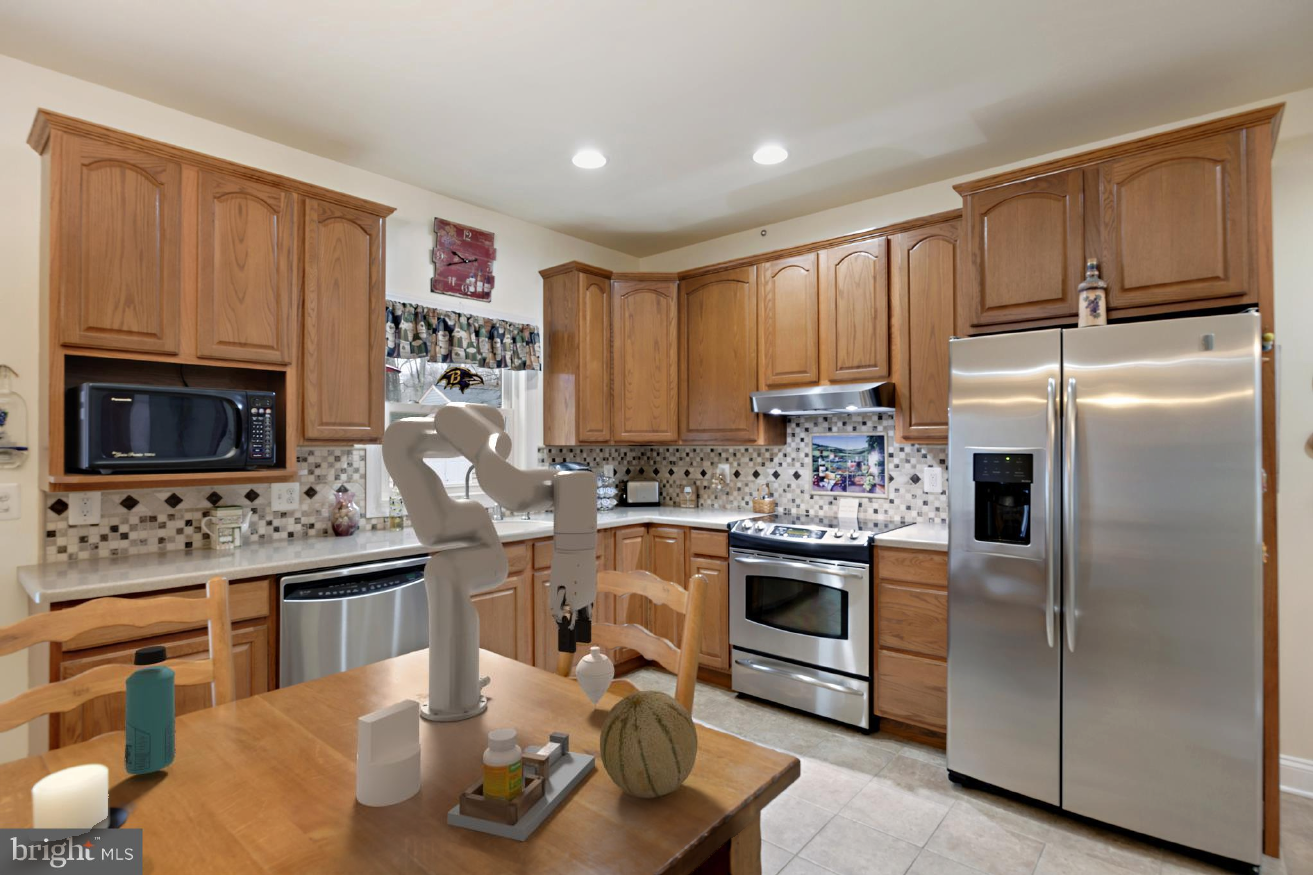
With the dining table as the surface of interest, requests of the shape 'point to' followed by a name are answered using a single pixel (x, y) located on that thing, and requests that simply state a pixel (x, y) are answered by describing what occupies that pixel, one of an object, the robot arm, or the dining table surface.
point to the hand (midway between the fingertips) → (575, 645)
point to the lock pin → (550, 752)
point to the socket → (501, 802)
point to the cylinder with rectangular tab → (389, 755)
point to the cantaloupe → (648, 744)
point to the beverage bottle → (150, 713)
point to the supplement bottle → (502, 766)
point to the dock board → (557, 787)
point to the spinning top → (595, 674)
